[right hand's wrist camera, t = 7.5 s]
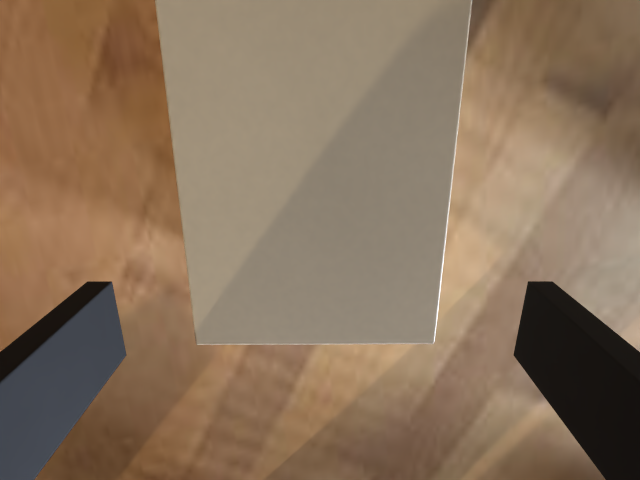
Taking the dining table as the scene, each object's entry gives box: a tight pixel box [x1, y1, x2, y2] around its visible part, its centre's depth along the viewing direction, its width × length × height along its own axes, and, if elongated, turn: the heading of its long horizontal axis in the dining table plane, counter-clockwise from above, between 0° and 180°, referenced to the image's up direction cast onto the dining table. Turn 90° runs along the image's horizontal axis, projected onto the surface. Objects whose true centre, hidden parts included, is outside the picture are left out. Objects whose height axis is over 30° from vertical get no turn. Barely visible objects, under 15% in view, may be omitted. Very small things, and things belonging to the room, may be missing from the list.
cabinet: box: [155, 0, 472, 345], centre depth 20 cm, size 19×11×10 cm, turn 0°
